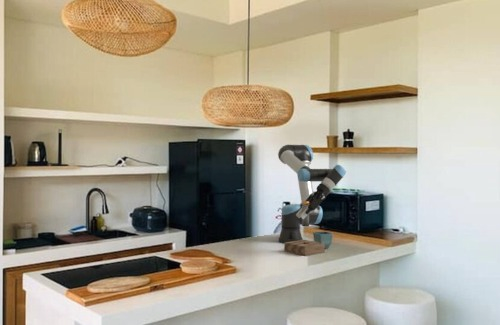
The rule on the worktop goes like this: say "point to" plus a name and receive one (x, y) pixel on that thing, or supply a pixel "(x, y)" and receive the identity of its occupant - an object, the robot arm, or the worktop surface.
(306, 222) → the metal pin
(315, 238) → the flower pot
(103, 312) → the worktop surface
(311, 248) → the block
